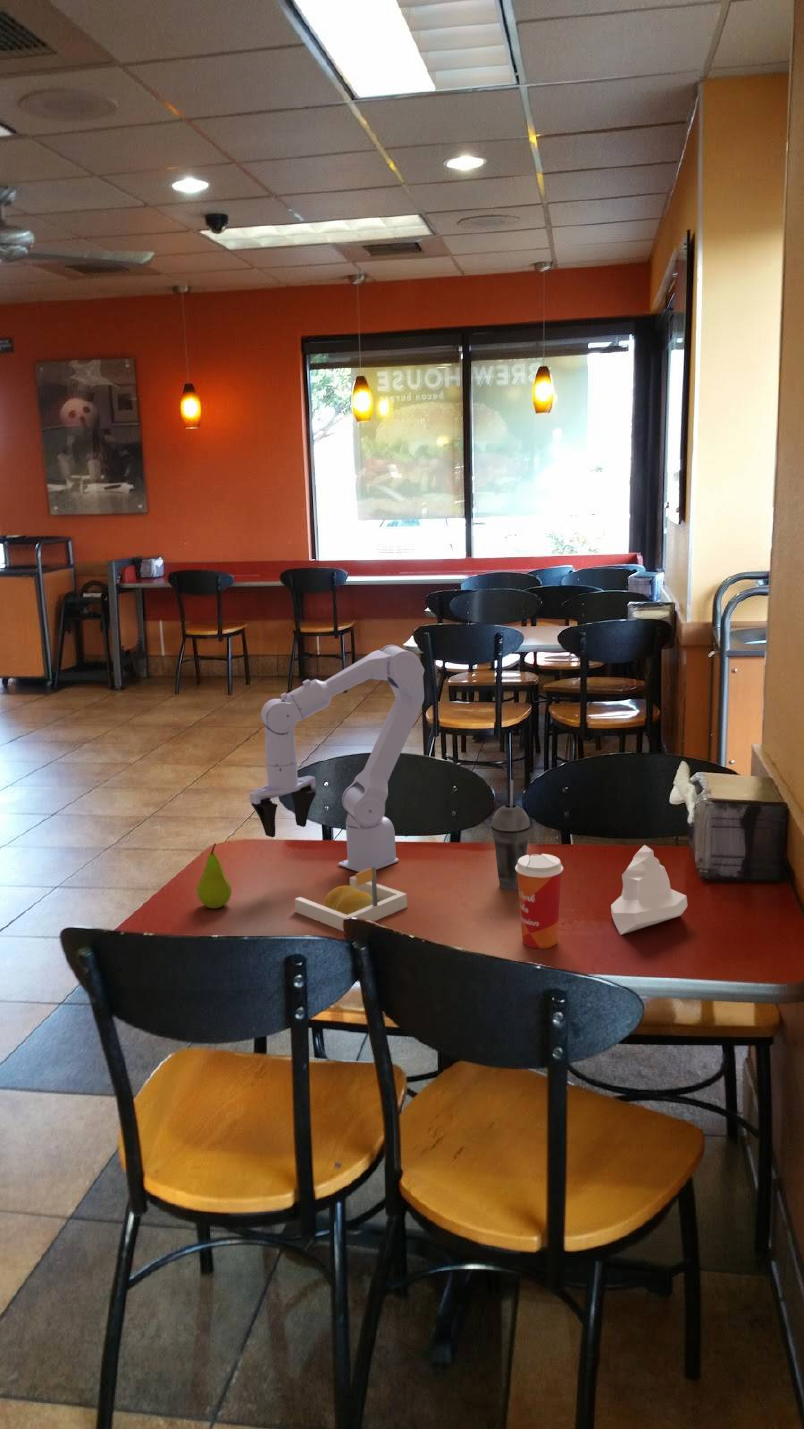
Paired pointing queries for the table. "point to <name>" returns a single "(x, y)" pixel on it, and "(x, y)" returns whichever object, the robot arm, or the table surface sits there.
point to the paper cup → (539, 899)
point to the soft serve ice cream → (646, 895)
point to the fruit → (213, 884)
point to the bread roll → (347, 899)
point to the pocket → (387, 905)
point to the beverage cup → (510, 841)
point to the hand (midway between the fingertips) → (286, 830)
